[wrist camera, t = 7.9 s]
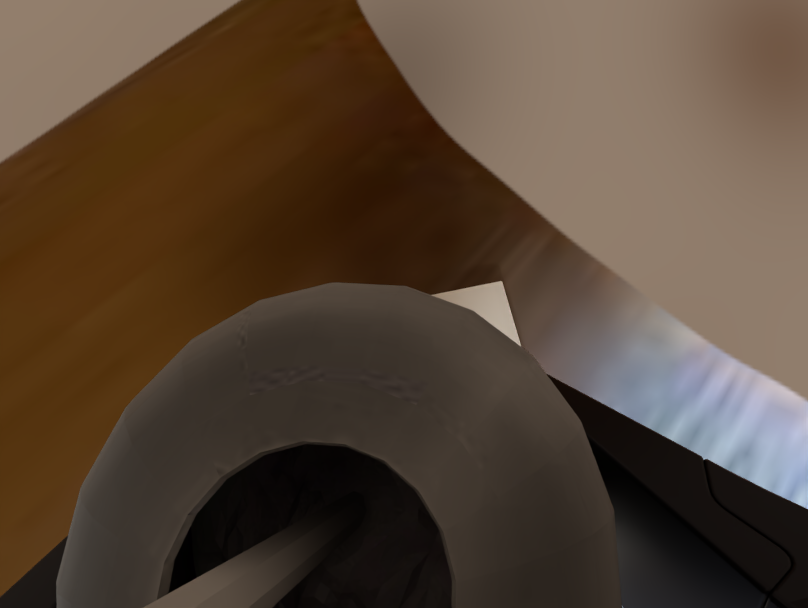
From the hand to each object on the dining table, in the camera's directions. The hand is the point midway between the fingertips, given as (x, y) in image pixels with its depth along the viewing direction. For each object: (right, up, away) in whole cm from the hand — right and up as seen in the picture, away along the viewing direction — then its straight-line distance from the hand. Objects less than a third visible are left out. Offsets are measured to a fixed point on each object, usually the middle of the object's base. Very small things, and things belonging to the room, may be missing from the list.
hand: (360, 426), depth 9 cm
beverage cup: (0, -4, +9) cm, 10 cm away
